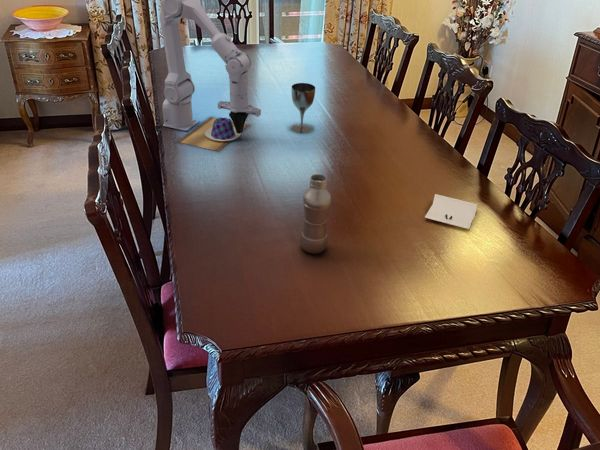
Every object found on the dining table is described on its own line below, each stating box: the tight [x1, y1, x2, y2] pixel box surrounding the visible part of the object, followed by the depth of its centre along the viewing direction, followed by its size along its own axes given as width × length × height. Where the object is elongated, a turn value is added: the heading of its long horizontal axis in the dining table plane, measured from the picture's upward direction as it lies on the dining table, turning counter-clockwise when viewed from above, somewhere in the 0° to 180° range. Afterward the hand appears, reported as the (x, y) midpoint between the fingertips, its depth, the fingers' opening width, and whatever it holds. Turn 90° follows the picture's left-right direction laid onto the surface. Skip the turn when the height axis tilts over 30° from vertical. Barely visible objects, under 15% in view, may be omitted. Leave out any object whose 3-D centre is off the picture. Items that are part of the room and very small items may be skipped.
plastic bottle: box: [299, 173, 332, 255], centre depth 130 cm, size 6×7×20 cm
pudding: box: [205, 117, 242, 141], centre depth 184 cm, size 12×12×5 cm
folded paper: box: [424, 193, 478, 230], centre depth 150 cm, size 12×12×2 cm
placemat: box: [177, 117, 249, 152], centre depth 187 cm, size 15×22×1 cm
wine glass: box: [290, 82, 316, 134], centre depth 189 cm, size 8×8×15 cm
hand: (239, 132), depth 183 cm, fingers closed
